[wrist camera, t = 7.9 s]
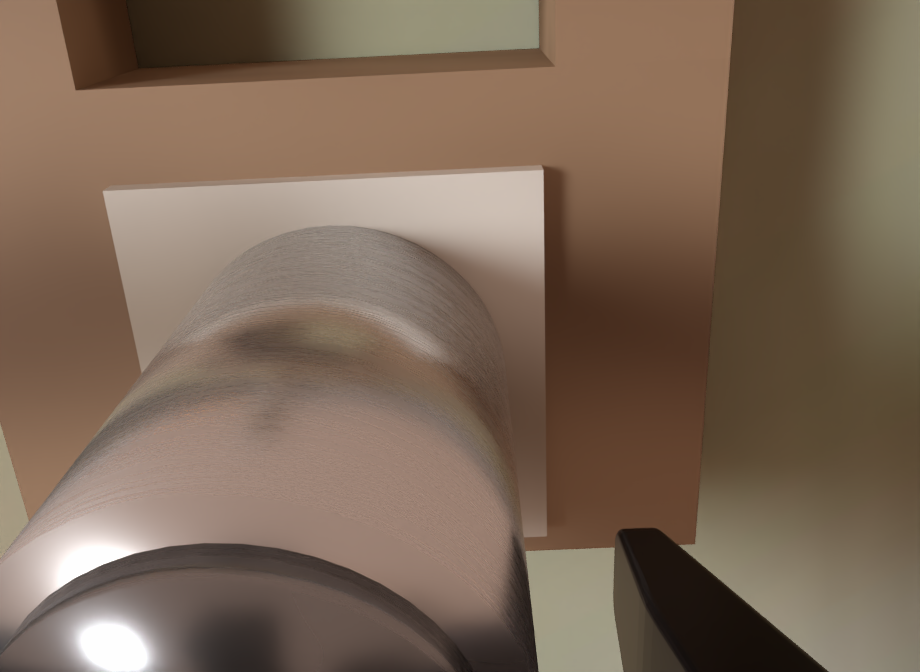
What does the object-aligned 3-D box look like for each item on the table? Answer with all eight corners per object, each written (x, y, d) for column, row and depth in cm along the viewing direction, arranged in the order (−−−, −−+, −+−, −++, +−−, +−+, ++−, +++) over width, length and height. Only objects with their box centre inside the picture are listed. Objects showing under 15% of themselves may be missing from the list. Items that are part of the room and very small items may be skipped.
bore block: (662, 464, 17) (699, 555, 14) (99, 488, 17) (36, 581, 15) (722, -673, 11) (808, -878, 8) (-179, -616, 11) (-379, -797, 8)
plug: (509, 509, 14) (551, 980, 8) (211, 520, 14) (0, 996, 8) (501, 217, 12) (548, 516, 6) (156, 233, 12) (-186, 545, 6)
